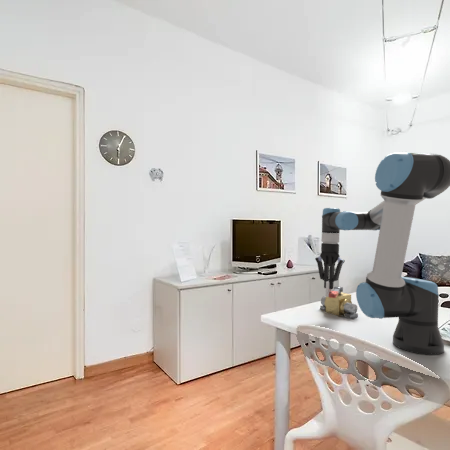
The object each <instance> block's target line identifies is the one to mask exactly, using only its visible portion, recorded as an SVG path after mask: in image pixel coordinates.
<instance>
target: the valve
mask: <svg viewBox="0 0 450 450" xmlns="http://www.w3.org/2000/svg"><path fill="white" fill-rule="evenodd" d="M320 303H321V305H320V310H322V311H325V313H328V314H331V315H335V316H337V317H341V316H344V317H345V318H347V319H353V318H354V319H355V318H359V317H358V316H359V313H357V312H358V304H356V303H355V304H354V303H353V302H352V294H351V293H346V292H344V291H343V292H339V293H338V296H337V297H336V298H331V297H326V295H324V296H322V297H321V299H320Z"/></svg>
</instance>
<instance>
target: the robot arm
mask: <svg viewBox="0 0 450 450" xmlns="http://www.w3.org/2000/svg"><path fill="white" fill-rule="evenodd" d="M374 182H375V185H376V187H377V189H378V190H379V191H380V196H381V198H382V199H383V201H381V202H380V203H378V204H377V205H376V206H374V207H373V208H371V209H370V210H369V211H347V210H344V211H341V209H340V208H338V207H324V208H323V209H322V215H321V239H320V241H321V246H320V247H321V248H320V254H319V256H317V257H315V259H314V260H315V261H316V263H317V269H318V273H319V274H318V275H319V278H320V280H322V281H323V288H324V289H325V297H329V293H330V292H331V291H332V290H334V282H336V281H339V278H340V274H341V270H342V267H343V265H344V263H345V259H342V258H341V257H340V256H341V255H340V254H339V253H340V244H339V243H340V231H379V232H378V238H377V244H376V249H375V255H374V261H373V267H372V270H371V271H369V272H368V273H367V274H366V277H365V281H364V282H363V281H362V282H360V283H359V284H358V285H357V287H356V289H355V296H356V301H357V305H358V306H359V309H360V310H361V312H362V313H363V314H364V315H365V316H366V317H368V318H370V319H381V320H382V319H389V318H391V319H392V318H393V319H394V318H398V322H397V324H396V327H395V330H394V332H393V335H392V343H393V345H394V346H395V347H396V348H398V349H402V350H405V351H407V352H411V353H415V354H421V355H429V356H430V355H440V354H443V353H444V351H445V343H444V340H443V338H442V335H441V331H440V329H439V297H440V294H439V287H438V285H437V283H436V282H434V281H430V280H426V279H420V278H416V277H410V276H409V277H408V276H402V275H403V271H404V270H403V269H404V265H405V260H406V259H405V258H406V255H407V250H408V246H409V245H408V244H409V239H410V236H411V235H410V234H411V228H412V223H413V220H414V215H415V209H416V205H418V204H420V203H421V202H423V201H424V200H426V199H428V200H430V199H434V198H436V197H437V196H439V195H441V194H442V193H444V192H445V191H446V190H448V188H449V187H450V159H449V158H448V157H445V156H443V155H441V154H437V153H421V152H420V153H419V152H407V151H405V152H403V151H402V152H400V151H399V152H392V153H390V154H387V155H386V156H384V158H382V159H381V161H380V162H379V164H378V165H377V168H376V170H375V175H374ZM336 263H337V265H336Z"/></svg>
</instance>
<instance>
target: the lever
mask: <svg viewBox="0 0 450 450" xmlns="http://www.w3.org/2000/svg"><path fill="white" fill-rule="evenodd" d="M339 292H343V293H344V287H343V286H333V289H332V290H331V292H330V293H329V297H331V298H336V297H337V296H338V293H339Z"/></svg>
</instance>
